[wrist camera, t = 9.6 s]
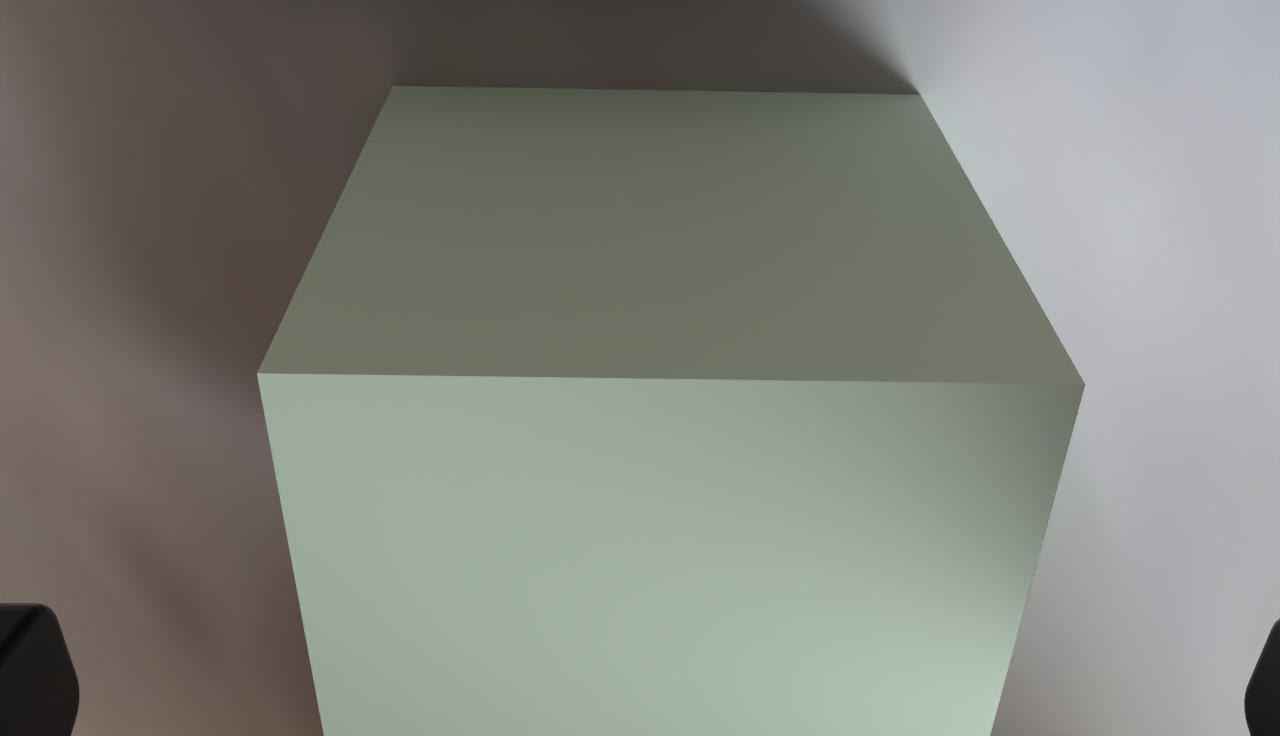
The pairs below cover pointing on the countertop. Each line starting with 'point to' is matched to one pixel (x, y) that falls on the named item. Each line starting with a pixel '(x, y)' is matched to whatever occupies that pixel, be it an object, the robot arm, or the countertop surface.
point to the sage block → (663, 421)
